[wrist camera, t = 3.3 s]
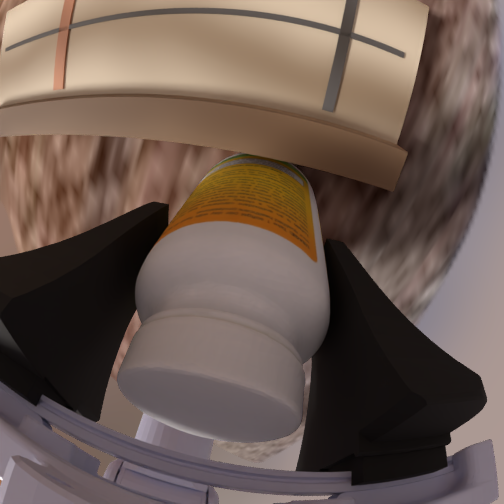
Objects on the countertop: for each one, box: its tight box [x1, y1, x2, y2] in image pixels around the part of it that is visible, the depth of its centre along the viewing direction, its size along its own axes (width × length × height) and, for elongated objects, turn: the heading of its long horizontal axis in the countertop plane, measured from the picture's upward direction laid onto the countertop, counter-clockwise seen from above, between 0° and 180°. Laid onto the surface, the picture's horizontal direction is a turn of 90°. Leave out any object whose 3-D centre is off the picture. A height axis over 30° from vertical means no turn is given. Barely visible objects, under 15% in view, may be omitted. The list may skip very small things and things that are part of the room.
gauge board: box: [0, 0, 429, 192], centre depth 8 cm, size 8×21×2 cm, turn 80°
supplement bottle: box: [117, 153, 330, 443], centre depth 9 cm, size 5×5×10 cm
